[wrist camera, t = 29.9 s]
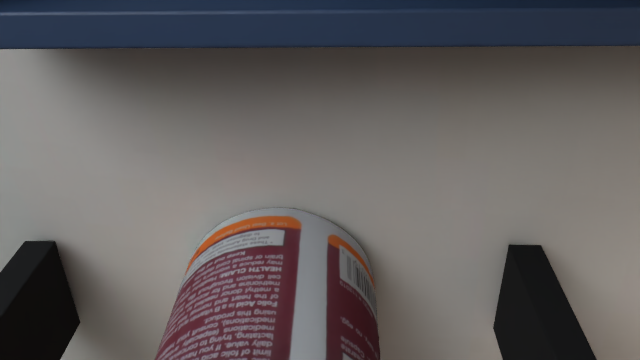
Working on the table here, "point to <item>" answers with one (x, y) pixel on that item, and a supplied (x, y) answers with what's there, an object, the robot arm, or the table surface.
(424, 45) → the fruit tray
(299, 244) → the pill bottle
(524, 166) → the table surface
